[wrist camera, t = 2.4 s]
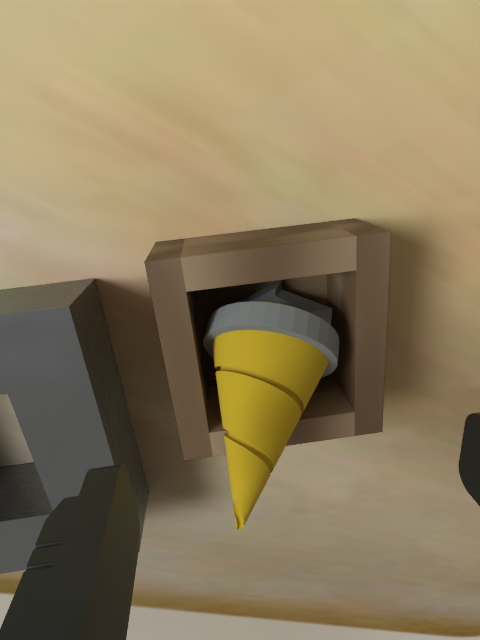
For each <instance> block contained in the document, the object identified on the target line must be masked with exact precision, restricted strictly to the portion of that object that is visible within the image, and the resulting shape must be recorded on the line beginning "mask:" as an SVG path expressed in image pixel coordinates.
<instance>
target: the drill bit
mask: <svg viewBox="0 0 480 640" xmlns="http://www.w3.org/2000/svg"><path fill="white" fill-rule="evenodd" d="M331 318H332V308H330V307H327V306H325V305H322V304H319V303H317V302H314V301H311V300H309V299H306V298H303V297H301V296H298V295H295V294H293V293H290V292H287V291H285V290H282V280H278V281H276V282H274V283H272V284H270V285H268V286H266V287H264V288H262V289H260V290H258V291H256V292H254V293H252V294H251V295H249V296H247V297H245V298H243V299H241V300H239V301H237V302H235V303H233V304H228V305H225V306H223V307H220V308H218V309H217V310H216V311H214V312H213V313H212V314H211V316H210V317H209V321H208V324H207V328H206V332H205V336H204V341H203V345H204V348H205V350H206V351H207V352H208V354H209V355H210V356H212V357H213V358H214V364H215V370H216V371H217V372H216V380H217V387H218V395H219V402H220V410H221V417H222V425H223V428H224V429H226V430H228V433H225V434H224V440H225V447H226V455H227V462H228V470H229V477H230V485H231V492H232V498H233V501H234V515H235V522H236V529H237V530H241V529H242V528H243V526H244V524H245V522H246V521H247V519H248V517H249V515H250V513H251V511H252V509H253V507H254V505H255V503H256V501H257V500H258V498H259V496H260V494H261V492H262V490H263V488H264V486H265V484H266V482H267V480H268V478H269V476H270V473H271V472H272V471H273V469H274V467H275V465H276V463H277V461H278V459H279V457H280V455H281V454H282V452H283V450H284V448H285V446H286V444H287V442H288V440H289V438H290V436H291V434H292V432H293V431H294V429H295V427H296V425H297V423H298V421H299V419H300V417H301V415H302V413H303V411H304V409H305V408H306V406H307V404H308V402H309V400H310V398H311V396H312V394H313V392H314V390H315V388H316V386H317V385H318V383H319V381H320V379H321V378H322V377H325V376H327V375H329V374H331V373H332V372H333V371H334V370H335V369H336V367H337V365H338V353H339V336H338V334H337V332H336V330H335V329H334V328H333V327H332V326H331Z"/></svg>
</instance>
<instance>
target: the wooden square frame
mask: <svg viewBox="0 0 480 640" xmlns="http://www.w3.org/2000/svg"><path fill="white" fill-rule="evenodd" d="M390 243H391V232H389V231H387V230H384V229H381V228H379V227H376V226H373V225H370V224H368V223H365V222H362V221H359V220H357V219H346V220H338V221H329V222H321V223H313V224H304V225H296V226H288V227H279V228H271V229H263V230H254V231H246V232H237V233H229V234H221V235H212V236H204V237H196V238H187V239H179V240H171V241H162V242H156V243H155V245H154V246H153V248H152V250H151V252H150V253H149V255H148V257H147V259H146V260H145V267H146V272H147V277H148V282H149V287H150V292H151V297H152V302H153V307H154V312H155V317H156V322H157V328H158V333H159V338H160V343H161V348H162V353H163V358H164V363H165V368H166V373H167V378H168V383H169V388H170V393H171V398H172V403H173V408H174V413H175V418H176V423H177V428H178V433H179V438H180V443H181V448H182V453H183V458H184V461H185V460H192V459H199V458H206V457H212V456H219V455H226V447H225V440H224V434H225V433H228V430H226V429H224V428H223V425H222V417H221V410H220V402H219V395H218V387H217V386H212V387H208V385H207V378H206V372H205V366H204V359H203V353H202V346H201V340H200V333H199V327H198V321H197V314H196V308H195V301H194V295H193V291H196V290H204V289H212V288H220V287H228V286H236V285H244V284H252V283H260V282H268V281H276V280H284V279H292V278H300V277H308V276H316V275H323V274H327V282H328V307H330V308H332V318H331V326H332V327H333V328H334V329H335V330H336V332H337V334H338V336H339V353H338V365H337V367H336V369H335V370H334V371H333V372H332V373H331V374H329V375H327V376H325V377H322V378H321V379H320V381H319V383H318V385H317V386H316V388H315V390H314V392H313V394H312V396H311V398H310V400H309V402H308V404H307V406H306V408H305V409H304V411H303V413H302V415H301V417H300V419H299V421H298V423H297V425H296V427H295V429H294V431H293V432H292V434H291V436H290V438H289V440H288V442H287V444H286V446H288V445H295V444H302V443H309V442H316V441H323V440H330V439H337V438H343V437H350V436H357V435H364V434H371V433H378V432H382V427H383V404H384V381H385V358H386V335H387V312H388V289H389V266H390Z"/></svg>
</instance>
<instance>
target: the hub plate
mask: <svg viewBox="0 0 480 640" xmlns="http://www.w3.org/2000/svg"><path fill="white" fill-rule="evenodd" d="M0 394H8V395H9V398H10V400H11V403H12V406H13V408H14V411H15V413H16V416H17V419H18V421H19V424H20V426H21V429H22V432H23V434H24V437H25V439H26V442H27V445H28V447H29V450H30V452H31V455H32V458H33V460H34V463H30V464H23V465H16V466H9V467H2V468H0V574H1V573H7V572H14V571H20V570H27V563H28V561H29V559H30V556H31V554H32V551H33V550H35V547H36V546H35V544H36V542H37V539H38V537H39V534H40V532H41V530H42V527H43V525H44V522H45V520H46V519H47V518H48V516H49V515H50V514H51V513H52V512H53V510H54V509H55V508H56V507H57V506H58V504H59V503H60V502H61V501H62V500H63V499H64V498H67V497H73V496H79V493H80V490H81V487H82V484H83V481H84V479H85V476H86V473H87V471H88V470H89V469H92V468H99V467H105V466H112V465H119V464H124V465H125V466H126V468H127V471H128V475H129V479H130V483H131V487H132V491H133V495H134V499H135V503H136V506H137V510H138V515H139V523H140V543H139V550H140V544H141V538H142V532H143V525H144V519H145V513H146V507H147V500H148V494H149V491H148V487H147V483H146V479H145V476H144V472H143V468H142V464H141V460H140V456H139V452H138V448H137V444H136V440H135V436H134V432H133V428H132V424H131V420H130V416H129V412H128V408H127V404H126V400H125V396H124V392H123V388H122V384H121V380H120V376H119V372H118V368H117V365H116V361H115V357H114V353H113V349H112V345H111V341H110V337H109V333H108V329H107V325H106V321H105V317H104V313H103V309H102V305H101V301H100V297H99V293H98V289H97V285H96V281H95V278H94V279H86V280H78V281H70V282H62V283H54V284H45V285H37V286H29V287H21V288H13V289H5V290H0ZM139 550H138V552H139Z"/></svg>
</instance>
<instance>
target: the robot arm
mask: <svg viewBox="0 0 480 640" xmlns="http://www.w3.org/2000/svg"><path fill="white" fill-rule="evenodd" d="M459 473H460V477H461V480H462V482H463V485H464V486H465V488H466V490H467V491H468V493H469V494H470V495H471V496H472V498H473V499H474V500H475V501H476V502H477V503H478V505H479V506H480V412H479V413H473V414H470V415H468V417H467V418H466V421H465V427H464V433H463V440H462V446H461V453H460V459H459ZM139 543H140V523H139V515H138V510H137V506H136V503H135V499H134V495H133V491H132V487H131V483H130V479H129V475H128V471H127V468H126V466H125V465H124V464H119V465H112V466H105V467H99V468H92V469H89V470H88V471H87V473H86V476H85V479H84V481H83V484H82V487H81V490H80V493H79V496H73V497H67V498H64V499H63V500H62V501H61V502H60V503H59V504H58V506H57V507H56V508H55V509H54V510H53V512H52V513H51V514H50V515H49V516H48V518H47V519H46V520H45V522H44V525H43V527H42V530H41V532H40V534H39V537H38V539H37V542H36V544H35V546H36V547H35V550H33V551H32V554H31V556H30V559H29V561H28V563H27V570H26V571H25V572H24V573H23V575H22V578H21V580H20V583H19V585H18V588H17V590H16V592H15V595H14V597H13V600H12V602H11V604H10V607H9V609H8V612H7V615H6V616H5V619H4V621H3V624H2V626H1V629H0V640H126V636H127V628H128V621H129V614H130V607H131V600H132V593H133V586H134V579H135V572H136V565H137V558H138V550H139Z"/></svg>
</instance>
